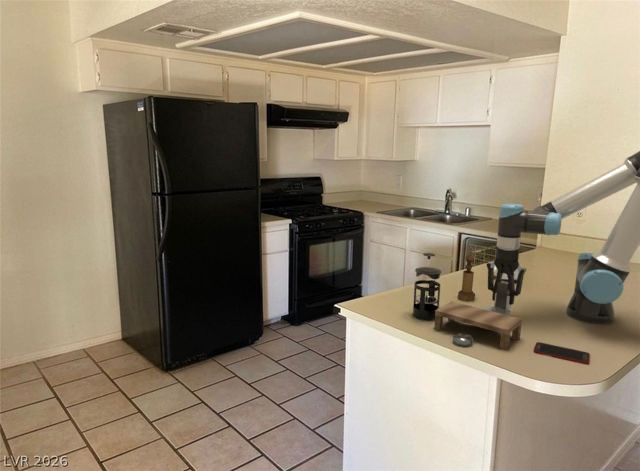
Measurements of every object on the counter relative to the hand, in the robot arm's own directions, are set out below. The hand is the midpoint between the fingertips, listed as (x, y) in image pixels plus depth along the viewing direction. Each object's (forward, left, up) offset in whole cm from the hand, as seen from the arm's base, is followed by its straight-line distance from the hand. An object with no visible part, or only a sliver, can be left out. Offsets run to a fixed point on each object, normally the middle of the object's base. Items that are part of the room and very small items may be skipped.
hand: (502, 310), depth 170 cm
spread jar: (+16, -44, -2) cm, 47 cm away
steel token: (0, +32, -2) cm, 32 cm away
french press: (+20, +19, -2) cm, 28 cm away
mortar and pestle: (+17, -8, -2) cm, 19 cm away
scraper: (0, +9, -1) cm, 9 cm away
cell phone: (-25, +19, -2) cm, 31 cm away
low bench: (0, +22, -2) cm, 22 cm away
